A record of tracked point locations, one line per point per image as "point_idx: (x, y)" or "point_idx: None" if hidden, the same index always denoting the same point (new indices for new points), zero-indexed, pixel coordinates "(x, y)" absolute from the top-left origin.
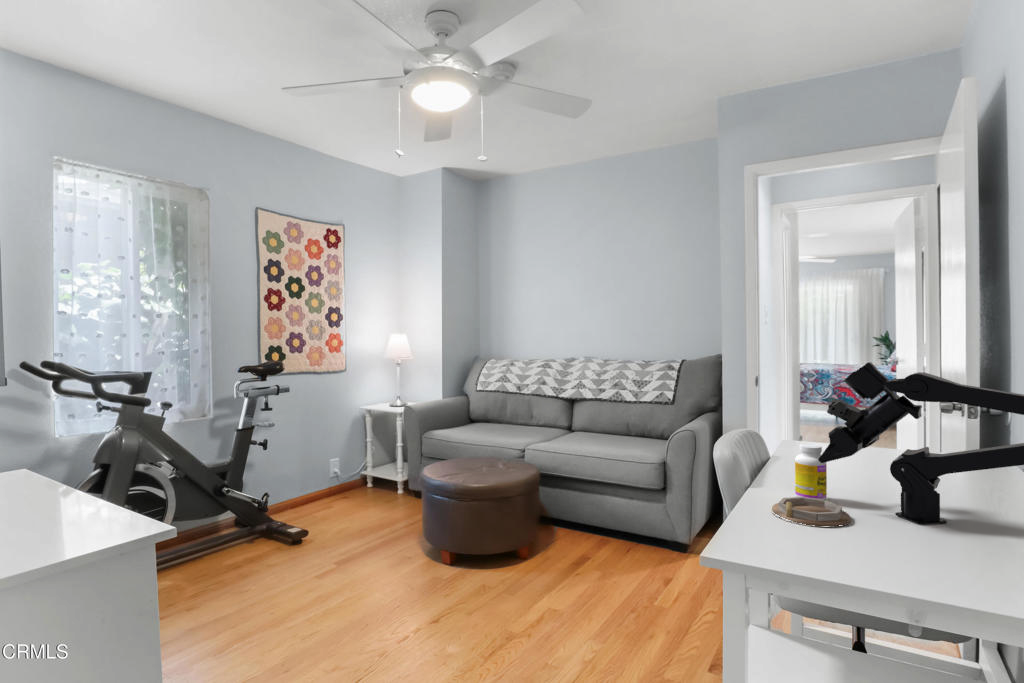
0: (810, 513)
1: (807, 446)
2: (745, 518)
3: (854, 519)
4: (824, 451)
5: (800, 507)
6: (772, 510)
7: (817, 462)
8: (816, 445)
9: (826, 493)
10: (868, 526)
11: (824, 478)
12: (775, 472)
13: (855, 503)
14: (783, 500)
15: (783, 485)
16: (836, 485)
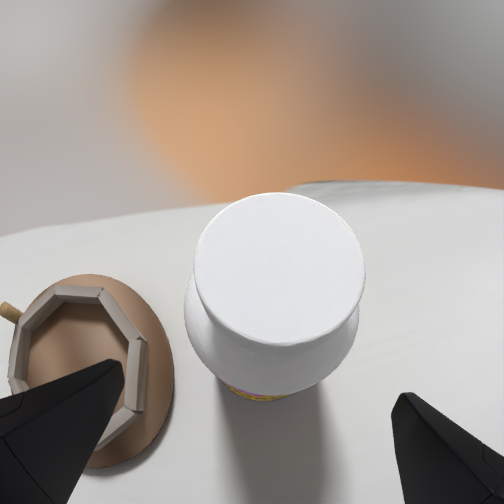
0: (10, 364)
1: (232, 244)
2: (26, 247)
3: (108, 478)
4: (42, 386)
5: (103, 341)
6: (62, 281)
7: (200, 353)
8: (330, 295)
9: (266, 400)
10: (73, 497)
11: (244, 394)
12: (467, 208)
13: (301, 478)
14: (79, 291)
15: (374, 247)
16: (473, 364)
